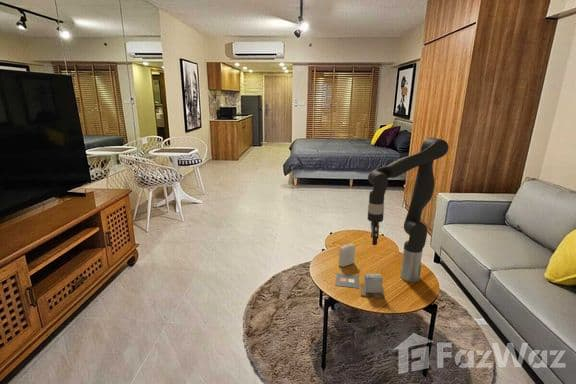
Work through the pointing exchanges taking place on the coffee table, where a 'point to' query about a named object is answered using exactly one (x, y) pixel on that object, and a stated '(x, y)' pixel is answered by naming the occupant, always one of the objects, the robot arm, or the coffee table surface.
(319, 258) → the coffee table surface
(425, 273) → the coffee table surface
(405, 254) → the robot arm
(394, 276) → the coffee table surface
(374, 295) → the walnut mat
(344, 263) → the photo printer
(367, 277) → the medicine box
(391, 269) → the coffee table surface
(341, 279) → the tile
